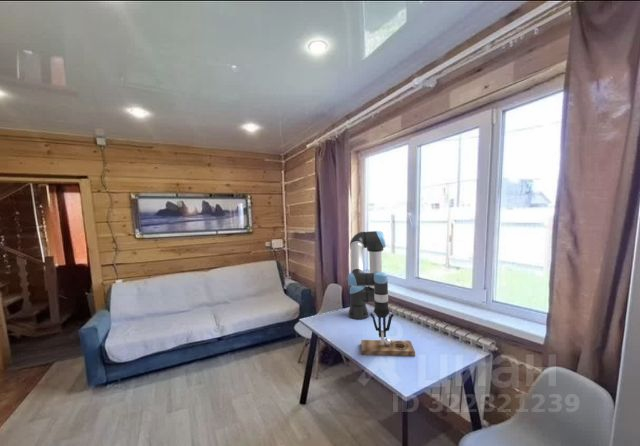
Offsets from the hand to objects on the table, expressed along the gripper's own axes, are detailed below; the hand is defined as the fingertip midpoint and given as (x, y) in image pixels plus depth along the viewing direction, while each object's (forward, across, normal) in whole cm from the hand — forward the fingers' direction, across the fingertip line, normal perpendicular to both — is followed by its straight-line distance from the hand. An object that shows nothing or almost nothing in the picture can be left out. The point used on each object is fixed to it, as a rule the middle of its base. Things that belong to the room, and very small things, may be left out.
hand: (382, 342), depth 149 cm
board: (+4, +2, 0) cm, 5 cm away
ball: (0, +3, 0) cm, 3 cm away
